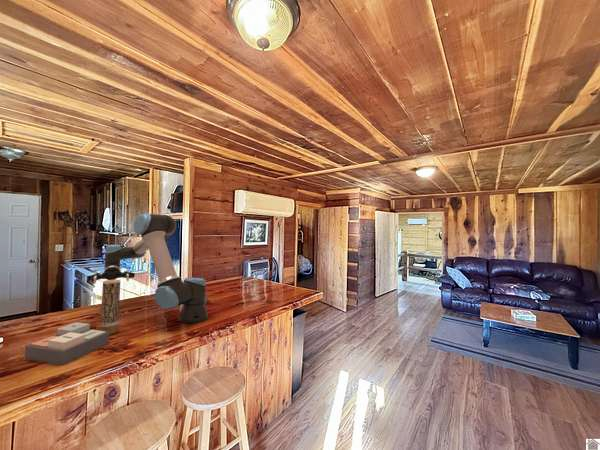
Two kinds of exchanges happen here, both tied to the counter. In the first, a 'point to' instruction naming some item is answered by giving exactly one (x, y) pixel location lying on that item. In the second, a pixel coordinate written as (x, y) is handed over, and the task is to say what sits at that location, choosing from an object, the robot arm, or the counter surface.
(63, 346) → the key cream
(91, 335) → the key sage
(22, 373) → the counter surface
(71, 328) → the key slate
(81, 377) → the counter surface
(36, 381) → the counter surface
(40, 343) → the key terracotta
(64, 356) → the keypad
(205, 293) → the cupcake
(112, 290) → the brown bark-patterned cylinder
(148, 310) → the counter surface
